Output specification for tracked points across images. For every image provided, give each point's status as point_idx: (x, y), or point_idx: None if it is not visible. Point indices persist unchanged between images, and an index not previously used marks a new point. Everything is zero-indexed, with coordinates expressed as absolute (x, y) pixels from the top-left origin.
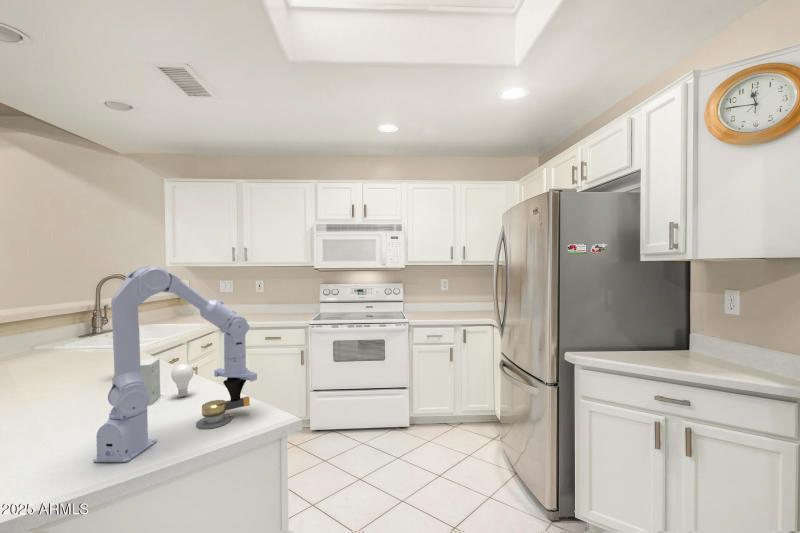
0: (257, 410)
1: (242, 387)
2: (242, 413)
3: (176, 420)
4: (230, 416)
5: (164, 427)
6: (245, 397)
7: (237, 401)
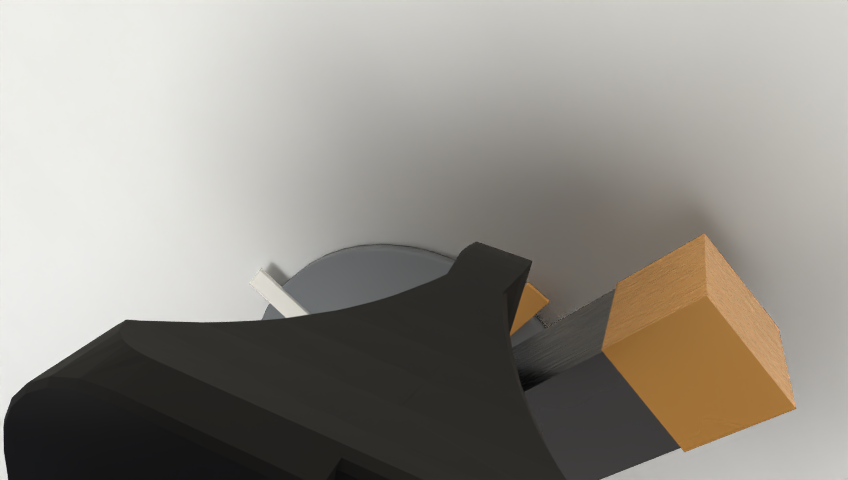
0: (830, 88)
1: (520, 391)
2: (614, 203)
3: (77, 332)
4: (523, 338)
5: None
6: (671, 356)
7: (590, 477)
